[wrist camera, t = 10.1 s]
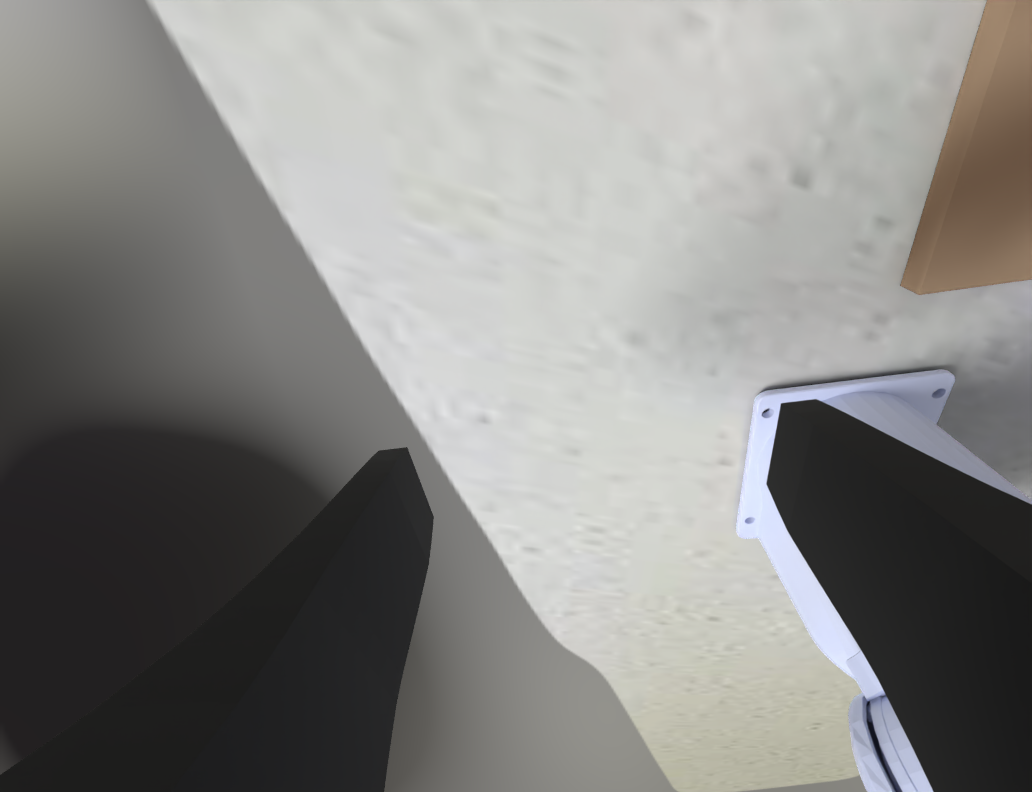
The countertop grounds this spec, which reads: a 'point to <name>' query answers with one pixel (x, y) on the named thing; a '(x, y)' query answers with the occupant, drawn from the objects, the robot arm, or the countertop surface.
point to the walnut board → (983, 167)
